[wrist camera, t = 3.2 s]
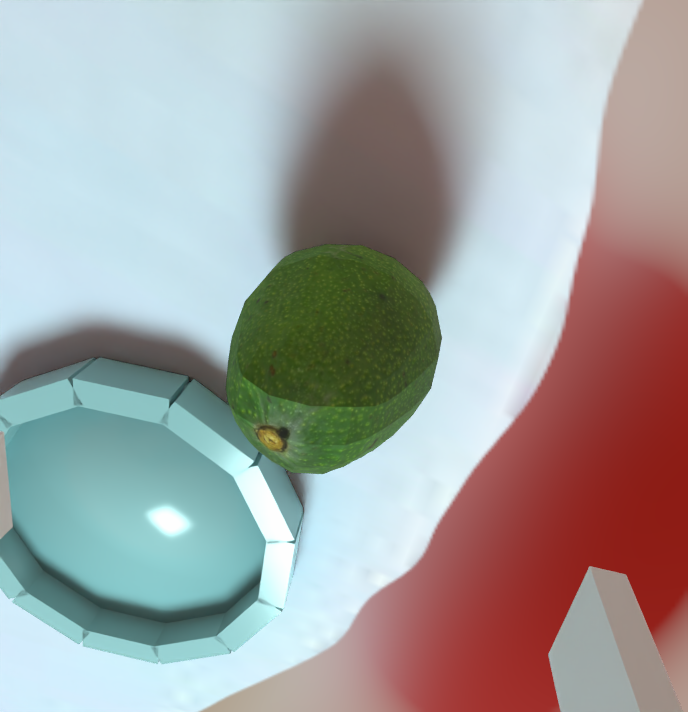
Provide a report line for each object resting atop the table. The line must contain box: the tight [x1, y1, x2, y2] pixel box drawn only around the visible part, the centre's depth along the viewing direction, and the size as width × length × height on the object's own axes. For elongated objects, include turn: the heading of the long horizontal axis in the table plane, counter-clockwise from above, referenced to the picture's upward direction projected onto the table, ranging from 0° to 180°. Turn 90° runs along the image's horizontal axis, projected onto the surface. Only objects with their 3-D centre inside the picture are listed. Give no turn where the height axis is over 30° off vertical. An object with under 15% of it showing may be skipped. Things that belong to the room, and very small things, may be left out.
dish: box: [0, 357, 304, 664], centre depth 32 cm, size 19×19×2 cm
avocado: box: [226, 244, 442, 474], centre depth 21 cm, size 8×8×12 cm
